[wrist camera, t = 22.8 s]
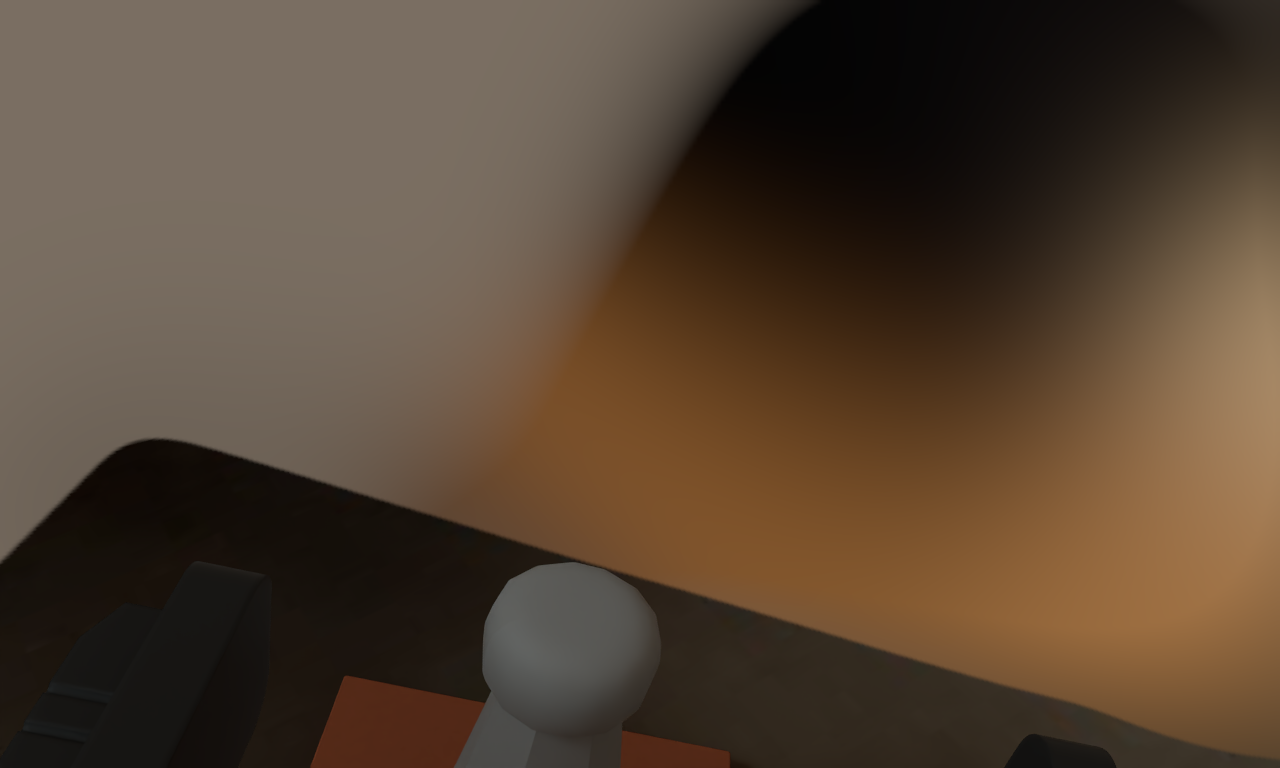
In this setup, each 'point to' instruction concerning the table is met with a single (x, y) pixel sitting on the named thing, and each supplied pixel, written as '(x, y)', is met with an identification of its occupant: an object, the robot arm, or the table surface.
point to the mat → (449, 733)
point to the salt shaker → (562, 670)
